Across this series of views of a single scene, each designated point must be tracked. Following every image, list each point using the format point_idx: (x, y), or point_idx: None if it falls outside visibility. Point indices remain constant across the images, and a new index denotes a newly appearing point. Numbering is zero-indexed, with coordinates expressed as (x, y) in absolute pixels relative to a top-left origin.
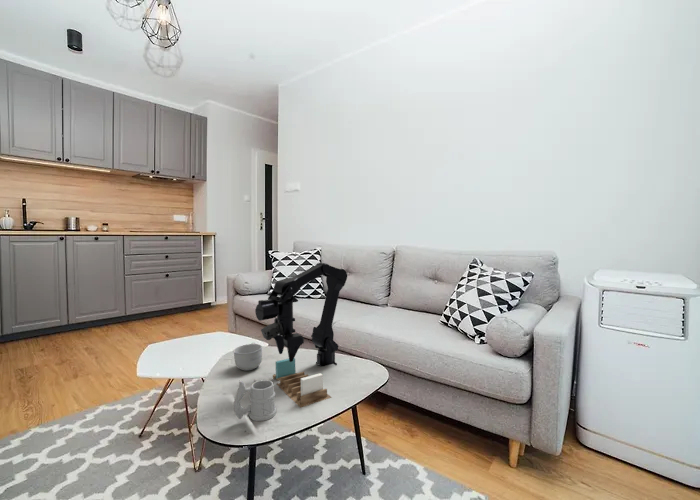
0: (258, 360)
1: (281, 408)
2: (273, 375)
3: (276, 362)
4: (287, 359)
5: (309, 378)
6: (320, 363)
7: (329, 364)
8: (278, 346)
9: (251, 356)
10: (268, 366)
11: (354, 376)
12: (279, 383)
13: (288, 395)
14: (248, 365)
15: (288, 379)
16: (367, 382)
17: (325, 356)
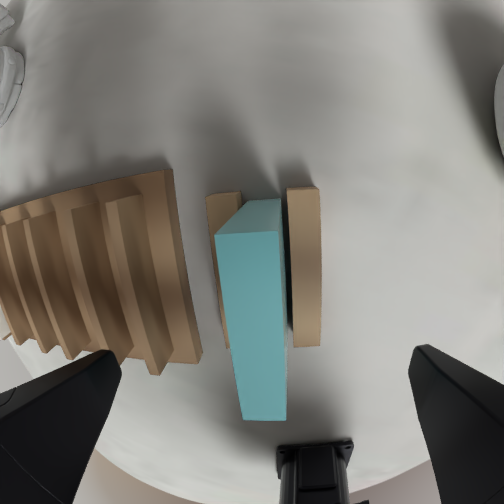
0: None
1: (11, 156)
2: (302, 190)
3: (243, 231)
4: (263, 369)
5: None
6: (299, 456)
7: (282, 467)
8: (469, 407)
9: None
10: (493, 235)
11: (160, 460)
12: (157, 192)
13: (32, 202)
14: (502, 89)
15: (75, 246)
16: (114, 451)
17: (286, 492)
